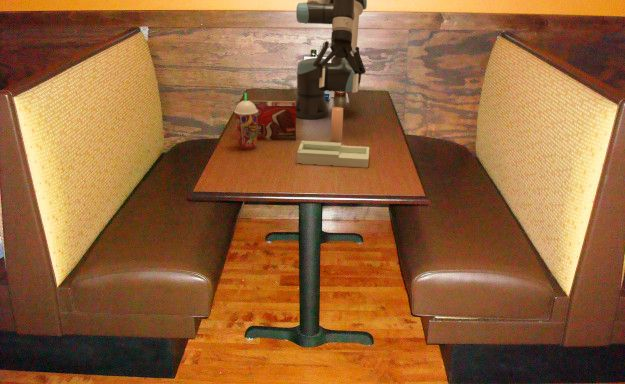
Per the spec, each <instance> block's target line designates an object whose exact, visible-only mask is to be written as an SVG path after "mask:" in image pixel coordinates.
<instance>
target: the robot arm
mask: <svg viewBox="0 0 625 384" xmlns="http://www.w3.org/2000/svg"><path fill="white" fill-rule="evenodd" d="M367 3H368V1H367V0H307V1H306V2H305V1H304V2H298V3H297V5H296V15H295V16H296V21H297V22H298V23H299V24H305V25H307V24H315V25H316V24H320V25H321V24H322V25H331V38H330V42H329V41H328V40H326V41H324V42H323V43H322V47H321V50H320V51H319V53H318V55H317V57H310V58H305V59H303V60H300V61H299V62H298V63H297V68H296V69H297V70H296V75H297V77H296V86H297V88H296V89H297V90H296V98H295V101H296V118H298V119H305V120H319V119H323V118H326V117H327V116H328V115H329V107H328V104H327V100H326V97H325V92H336V93H337V92H339V93H340V92H342V93H353V94H355V93H357V92H358V91H359V88H360V85H361V81H362V76H363V75H364V74H366V73H367V72H366V68H365V65H364V63H363V60H362V57H361V54H360V48H359V46H358V37H359V36H358V35H359V22H360V16H361V15H362V14H363V12H364V10H366V9H367V8H368V7H367V6H368V4H367ZM329 48H330V50H331V52H329V54H327V56H326V57H325V58H324V56H325V54H326V52H327V50H328V49H329ZM330 60H331V62H330Z"/></svg>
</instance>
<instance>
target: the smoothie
mask: <svg viewBox="0 0 625 384" xmlns="http://www.w3.org/2000/svg"><path fill="white" fill-rule="evenodd" d="M247 96H248V95H247V92H244V100H241V101H240V102H238V103H237V105H236V107H235V109H234V111H233V112H234V119H235V129H236V130H235V131H236V141H237V146H239V147H238V148H239V149H242V150H247V151H248V150H249V151H250V150H253V149H255V147H256V145H257V143H258V140H257V120H258V110H257V108H256V106H255V105H254V104H253V103H252V102H251V101H252V100H248V98H247Z"/></svg>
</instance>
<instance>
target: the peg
mask: <svg viewBox="0 0 625 384" xmlns="http://www.w3.org/2000/svg"><path fill="white" fill-rule="evenodd" d="M330 122H331V126H330V127H331V128H330V142H335V143H341V146H346V144H345V143H343V123H344V107H341V106H333V107H331V121H330Z"/></svg>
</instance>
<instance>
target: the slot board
mask: <svg viewBox="0 0 625 384" xmlns="http://www.w3.org/2000/svg"><path fill="white" fill-rule="evenodd" d="M369 158H370V146H360V145H359V146H356V145H345V146H341V143H335V142H331V141H317V140H316V141H315V140H301V142H300V144H299V147H298V150H297V152H296V164H297V163H302V164H301V165H313V164H317V165H316V166H330V165H333V166H334V167H347V168H348V167H349V168H367V169H368V168H369V161H370V160H369ZM333 166H332V167H333Z"/></svg>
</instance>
